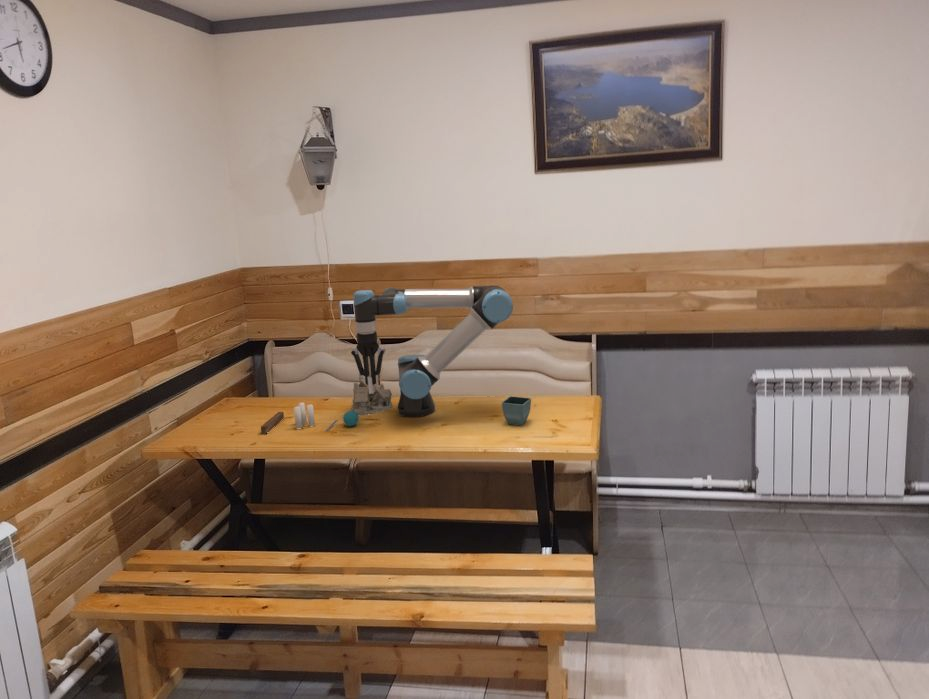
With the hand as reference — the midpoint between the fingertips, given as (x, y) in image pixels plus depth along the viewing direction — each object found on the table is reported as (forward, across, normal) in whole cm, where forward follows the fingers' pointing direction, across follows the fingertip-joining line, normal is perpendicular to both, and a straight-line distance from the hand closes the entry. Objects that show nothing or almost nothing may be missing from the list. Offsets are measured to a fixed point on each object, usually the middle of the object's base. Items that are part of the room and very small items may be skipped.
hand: (371, 392), depth 295 cm
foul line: (+13, +17, 0) cm, 22 cm away
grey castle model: (+14, +7, -20) cm, 25 cm away
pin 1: (+14, +30, +2) cm, 33 cm away
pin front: (+14, +25, 0) cm, 29 cm away
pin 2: (+14, +30, -3) cm, 33 cm away
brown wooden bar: (+14, +41, 0) cm, 43 cm away
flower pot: (+13, -55, -2) cm, 56 cm away
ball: (+10, +9, 0) cm, 14 cm away
